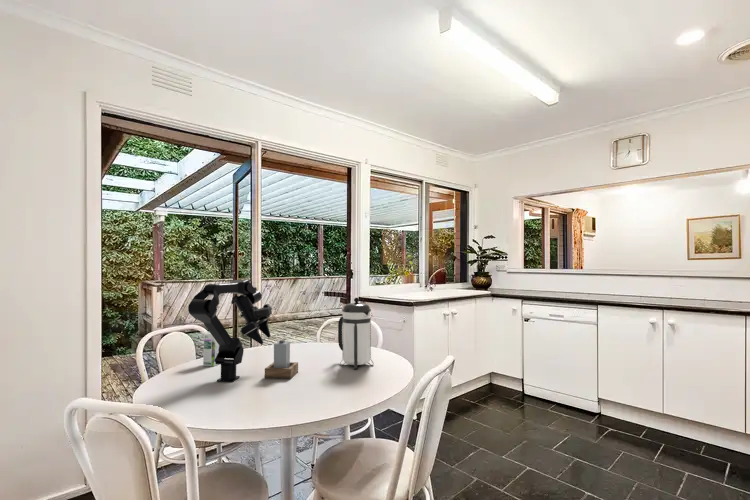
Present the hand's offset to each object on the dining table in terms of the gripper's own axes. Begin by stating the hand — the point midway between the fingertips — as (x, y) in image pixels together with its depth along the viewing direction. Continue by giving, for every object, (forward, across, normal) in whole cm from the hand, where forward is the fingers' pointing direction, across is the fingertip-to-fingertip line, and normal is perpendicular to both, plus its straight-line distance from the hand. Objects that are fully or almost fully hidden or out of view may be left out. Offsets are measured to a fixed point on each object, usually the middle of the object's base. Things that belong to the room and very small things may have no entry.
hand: (266, 340), depth 162 cm
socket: (+15, -7, -1) cm, 16 cm away
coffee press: (+30, +10, -24) cm, 40 cm away
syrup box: (-1, +9, +32) cm, 33 cm away
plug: (+14, -7, -2) cm, 16 cm away
